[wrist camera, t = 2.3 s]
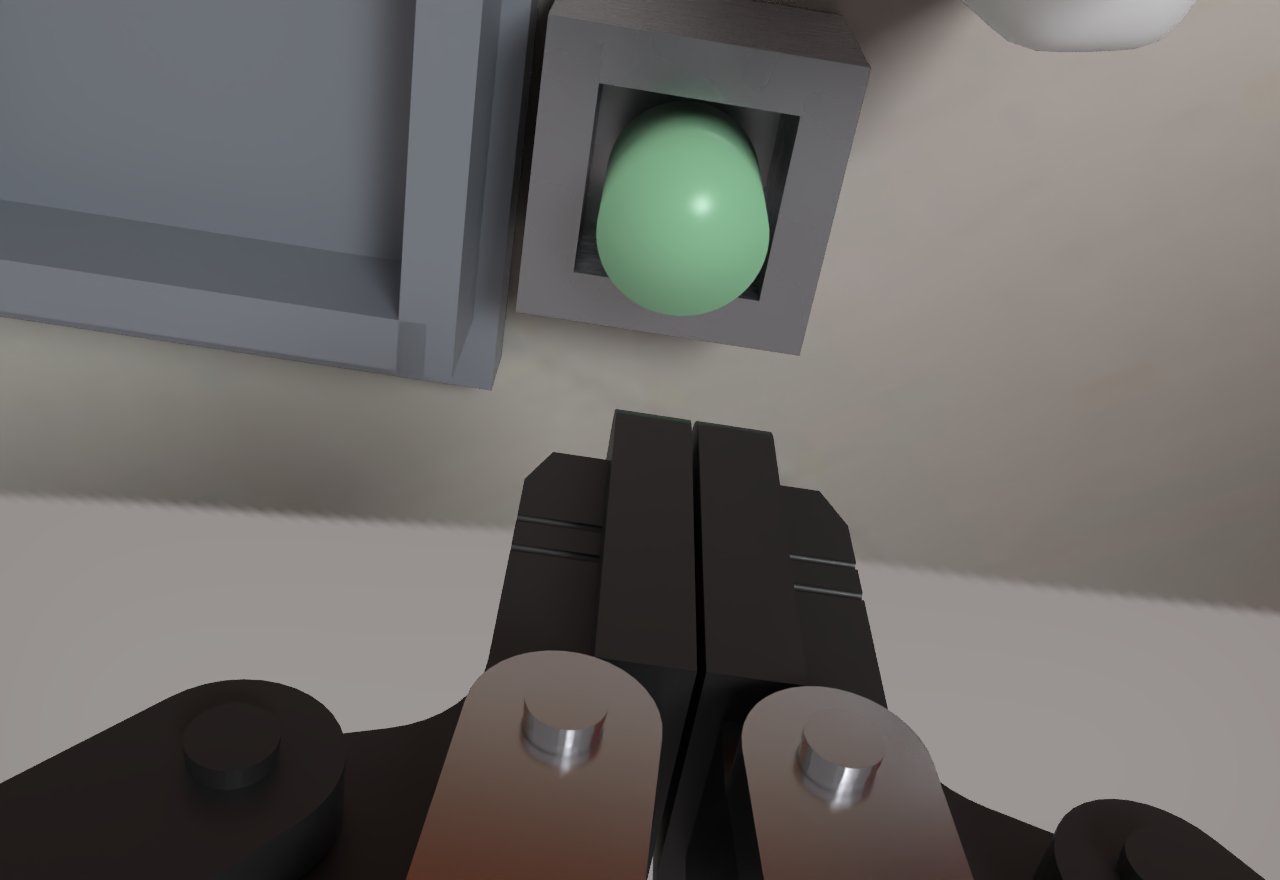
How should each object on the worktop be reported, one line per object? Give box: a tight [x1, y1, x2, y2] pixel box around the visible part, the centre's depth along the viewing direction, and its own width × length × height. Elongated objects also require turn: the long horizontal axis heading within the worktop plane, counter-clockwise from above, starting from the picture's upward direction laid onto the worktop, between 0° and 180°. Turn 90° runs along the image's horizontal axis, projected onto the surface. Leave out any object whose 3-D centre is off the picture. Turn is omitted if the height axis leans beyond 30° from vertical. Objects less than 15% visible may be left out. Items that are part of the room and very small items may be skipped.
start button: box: [596, 101, 769, 316], centre depth 19 cm, size 3×3×3 cm
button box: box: [516, 0, 871, 356], centre depth 21 cm, size 5×5×4 cm
